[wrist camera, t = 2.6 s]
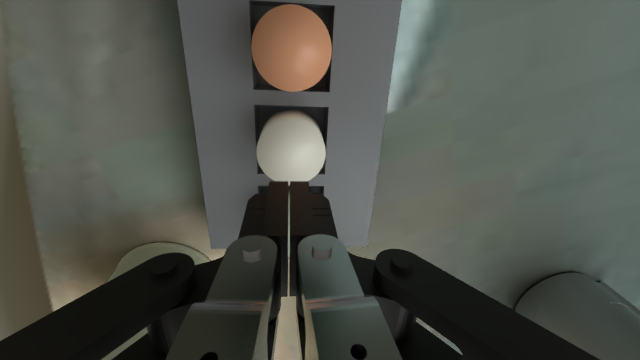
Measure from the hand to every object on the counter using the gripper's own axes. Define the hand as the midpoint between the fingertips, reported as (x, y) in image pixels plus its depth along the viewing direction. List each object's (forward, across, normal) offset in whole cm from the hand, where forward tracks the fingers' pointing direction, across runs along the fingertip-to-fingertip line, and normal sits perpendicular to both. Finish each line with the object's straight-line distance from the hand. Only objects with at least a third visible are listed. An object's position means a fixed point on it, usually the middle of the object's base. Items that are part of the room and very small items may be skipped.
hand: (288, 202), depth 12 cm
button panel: (+11, 0, 0) cm, 11 cm away
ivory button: (+9, 0, 0) cm, 9 cm away
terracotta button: (+9, 0, -5) cm, 10 cm away
